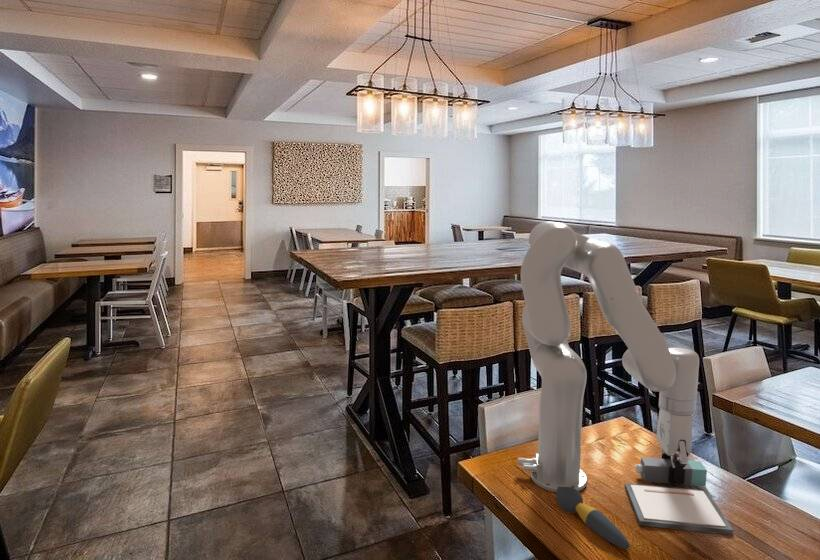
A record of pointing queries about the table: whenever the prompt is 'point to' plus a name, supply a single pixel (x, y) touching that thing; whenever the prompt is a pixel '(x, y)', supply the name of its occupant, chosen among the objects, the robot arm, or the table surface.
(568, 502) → the paintbrush
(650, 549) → the table surface
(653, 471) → the teal-tipped grey bar
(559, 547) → the table surface
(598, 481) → the table surface
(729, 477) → the table surface
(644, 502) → the drawing board
